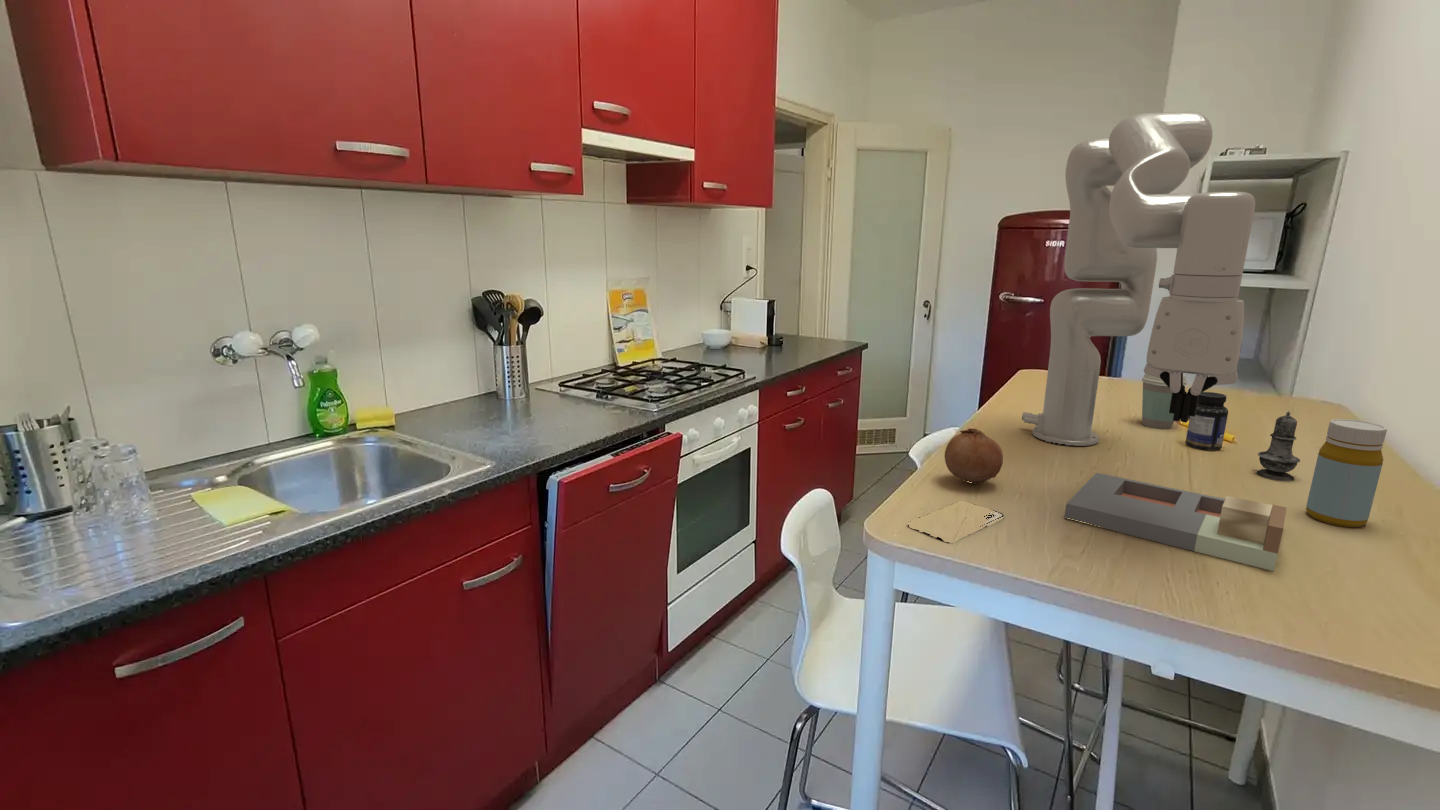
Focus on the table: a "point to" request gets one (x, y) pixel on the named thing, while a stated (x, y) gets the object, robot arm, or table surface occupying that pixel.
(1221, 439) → the pill bottle
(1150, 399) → the coffee cup
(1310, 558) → the table surface
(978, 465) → the onion
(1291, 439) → the salt shaker
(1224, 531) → the maple block
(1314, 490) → the bottle
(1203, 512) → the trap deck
